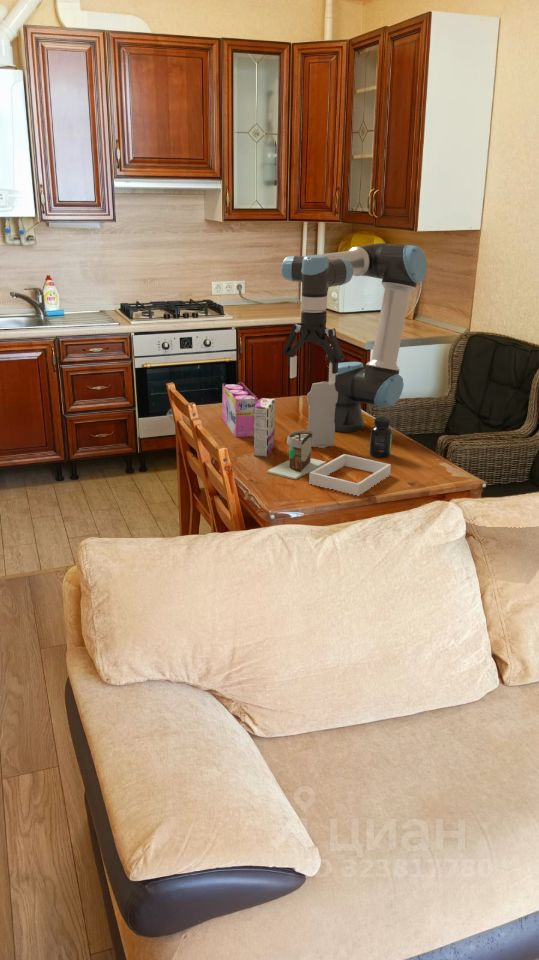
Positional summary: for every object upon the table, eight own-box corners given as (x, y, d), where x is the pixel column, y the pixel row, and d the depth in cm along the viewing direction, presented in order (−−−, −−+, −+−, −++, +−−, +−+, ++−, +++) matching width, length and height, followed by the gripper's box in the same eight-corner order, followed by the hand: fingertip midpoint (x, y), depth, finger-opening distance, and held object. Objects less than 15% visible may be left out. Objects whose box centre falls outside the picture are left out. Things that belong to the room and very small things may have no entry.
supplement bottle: (394, 455, 252) (397, 420, 248) (379, 459, 248) (382, 423, 244) (379, 450, 257) (382, 415, 253) (364, 454, 253) (367, 418, 249)
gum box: (220, 418, 288) (220, 382, 283) (241, 417, 290) (241, 381, 285) (235, 437, 266) (235, 399, 261) (257, 436, 268) (258, 398, 263)
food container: (293, 458, 245) (294, 428, 242) (311, 461, 243) (313, 430, 240) (280, 470, 234) (281, 439, 231) (299, 473, 232) (300, 441, 229)
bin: (343, 464, 243) (344, 453, 241) (390, 475, 235) (390, 464, 233) (309, 483, 226) (309, 472, 225) (357, 496, 218) (358, 484, 217)
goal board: (298, 457, 248) (298, 455, 248) (325, 463, 243) (325, 461, 243) (267, 472, 234) (267, 470, 234) (295, 479, 229) (295, 477, 229)
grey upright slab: (332, 443, 263) (336, 379, 255) (337, 446, 259) (341, 382, 251) (303, 445, 260) (305, 380, 252) (307, 449, 256) (310, 383, 248)
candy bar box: (259, 445, 258) (260, 397, 253) (274, 446, 258) (275, 398, 252) (252, 456, 248) (253, 406, 242) (267, 457, 247) (269, 407, 242)
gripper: (357, 312, 225) (354, 383, 233) (284, 304, 238) (284, 372, 246) (345, 316, 219) (342, 389, 227) (271, 307, 232) (271, 377, 240)
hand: (312, 380), depth 236 cm, fingers open, 13 cm apart
